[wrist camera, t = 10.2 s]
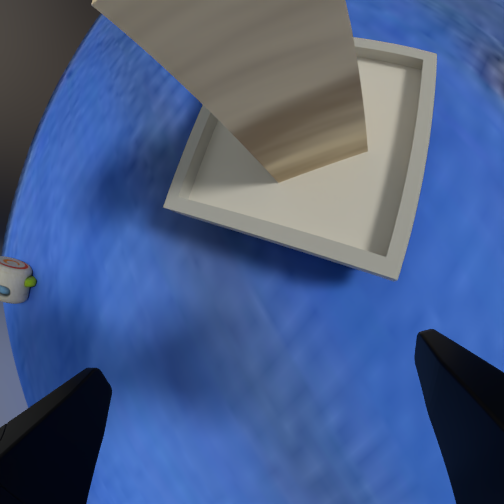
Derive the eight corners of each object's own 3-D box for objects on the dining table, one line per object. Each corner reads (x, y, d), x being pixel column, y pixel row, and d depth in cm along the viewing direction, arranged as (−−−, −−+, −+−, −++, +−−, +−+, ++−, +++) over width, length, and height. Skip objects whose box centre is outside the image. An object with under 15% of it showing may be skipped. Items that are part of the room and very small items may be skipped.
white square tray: (429, 96, 17) (436, 53, 13) (390, 282, 17) (397, 280, 13) (260, 69, 22) (237, 32, 18) (202, 222, 22) (163, 207, 18)
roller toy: (35, 309, 29) (-6, 309, 24) (15, 289, 32) (-21, 287, 26) (41, 273, 29) (-1, 268, 24) (21, 256, 32) (-16, 251, 26)
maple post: (368, 151, 15) (314, -101, 3) (278, 183, 16) (91, 4, 4) (333, 80, 16) (250, -121, 4) (254, 110, 17) (111, -54, 5)
